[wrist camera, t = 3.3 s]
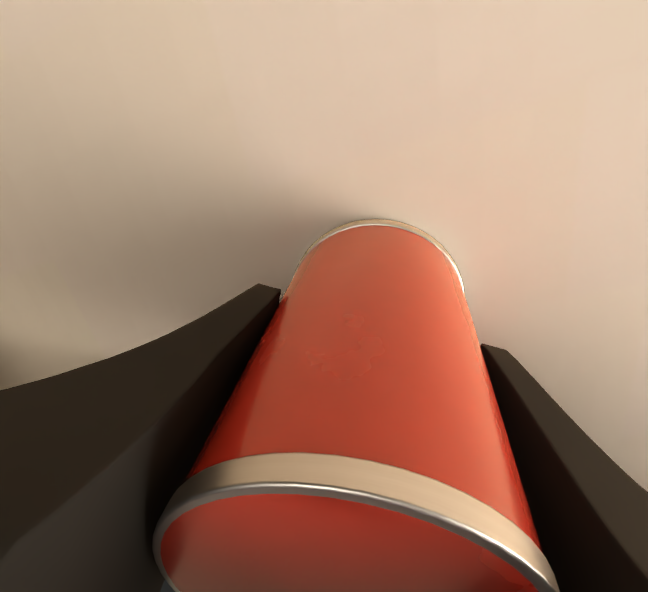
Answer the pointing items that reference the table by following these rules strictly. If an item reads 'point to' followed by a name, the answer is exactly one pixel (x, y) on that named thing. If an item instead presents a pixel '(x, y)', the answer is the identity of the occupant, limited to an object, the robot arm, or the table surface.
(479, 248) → the table surface
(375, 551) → the tin can
